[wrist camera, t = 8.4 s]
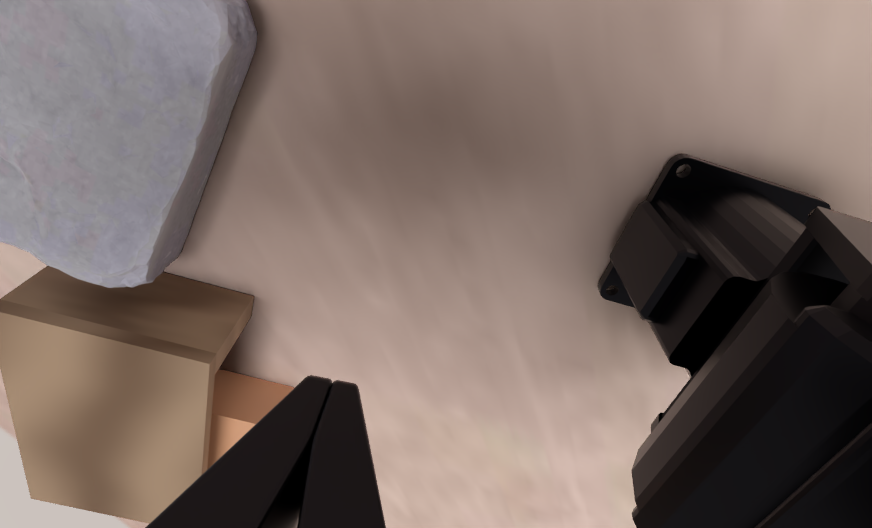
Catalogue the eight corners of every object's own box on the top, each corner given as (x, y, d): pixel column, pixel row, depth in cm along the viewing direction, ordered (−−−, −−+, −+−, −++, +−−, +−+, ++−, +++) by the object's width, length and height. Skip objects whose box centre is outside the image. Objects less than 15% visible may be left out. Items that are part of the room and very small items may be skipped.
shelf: (254, 296, 22) (209, 364, 18) (233, 457, 28) (197, 533, 24) (72, 248, 21) (-14, 308, 17) (92, 424, 27) (30, 498, 24)
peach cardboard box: (296, 383, 25) (277, 428, 23) (283, 442, 28) (265, 490, 25) (139, 344, 25) (102, 387, 22) (141, 410, 27) (108, 455, 24)
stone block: (1, 152, 21) (197, 275, 22) (-137, 176, 17) (110, 329, 17) (42, -149, 16) (297, 19, 17) (-143, -225, 12) (209, 6, 12)
